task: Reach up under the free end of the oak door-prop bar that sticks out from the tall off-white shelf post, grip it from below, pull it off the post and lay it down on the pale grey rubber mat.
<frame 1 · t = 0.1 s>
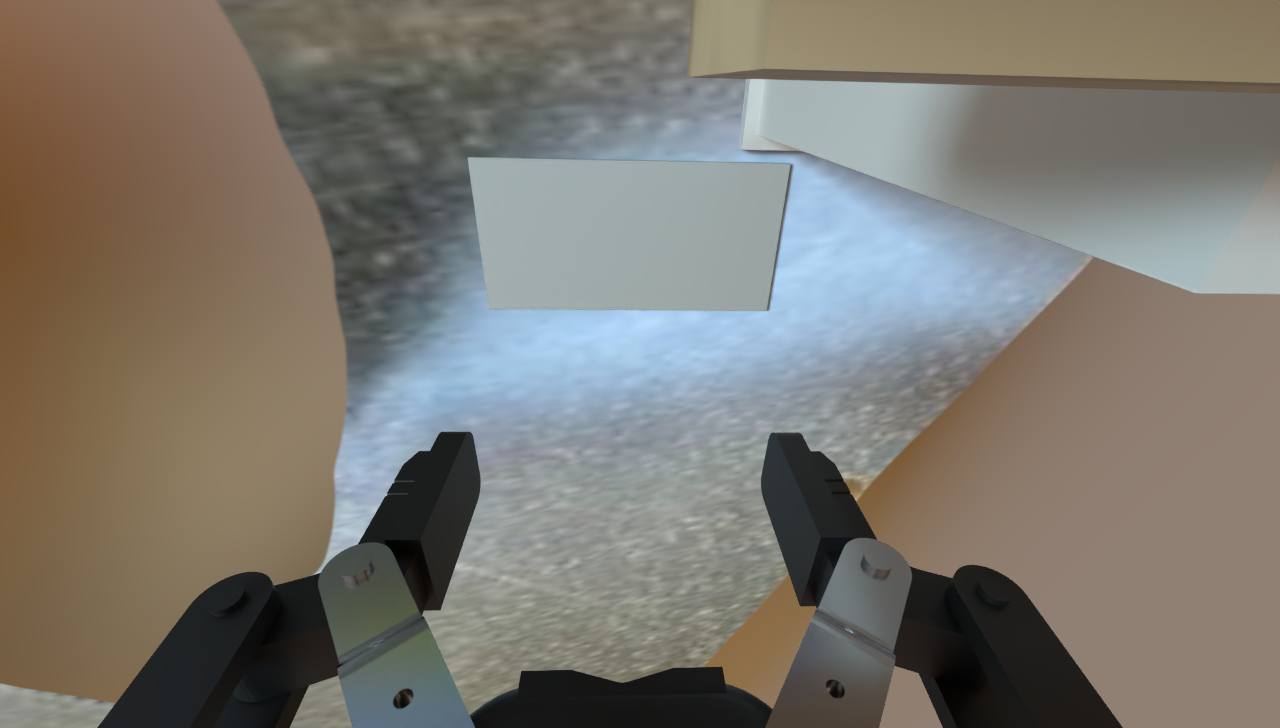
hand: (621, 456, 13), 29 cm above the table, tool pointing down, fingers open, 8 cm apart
rubber mat: (630, 239, 40), on the table
shelf post: (834, 55, 34), on the table
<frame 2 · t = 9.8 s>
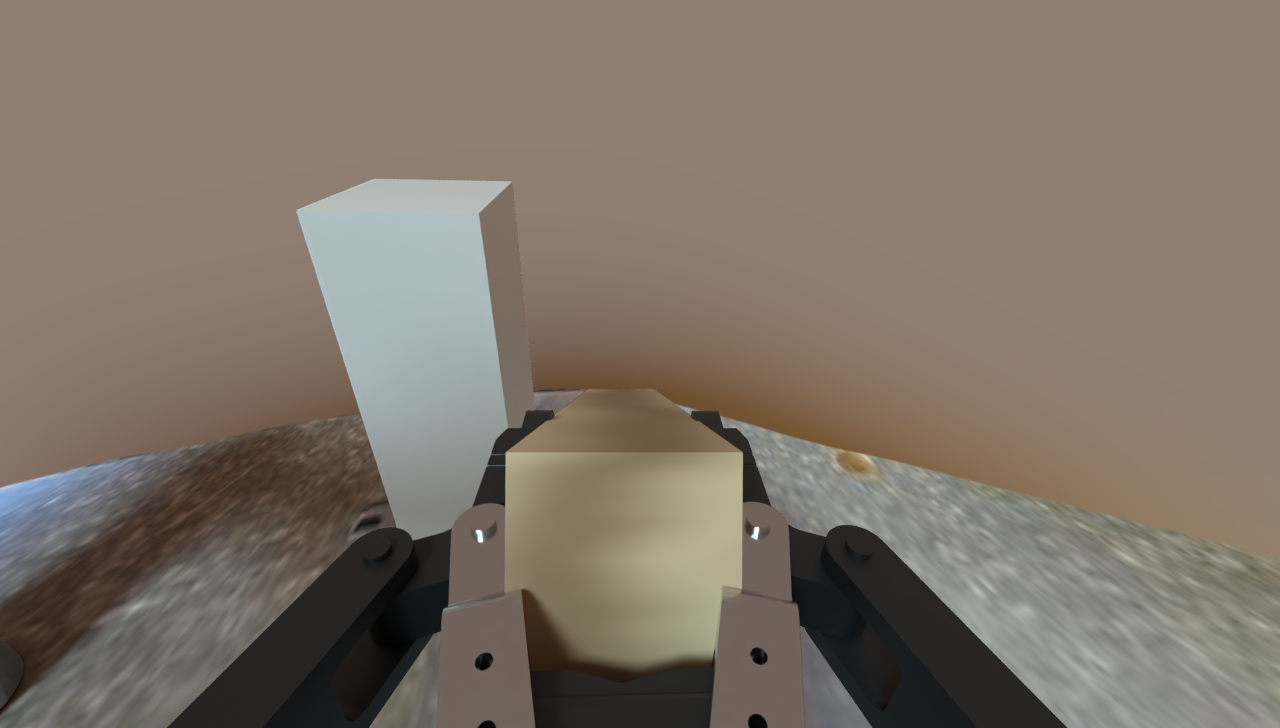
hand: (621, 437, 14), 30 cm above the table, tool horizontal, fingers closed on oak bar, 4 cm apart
oak bar: (621, 504, 19), point 24 cm above the table, tilted 30°, touching gripper
shelf post: (485, 535, 48), on the table
when the fingers open (12 cm above the table, at t = 12.9 s): oak bar drops 6 cm, resting on rubber mat.
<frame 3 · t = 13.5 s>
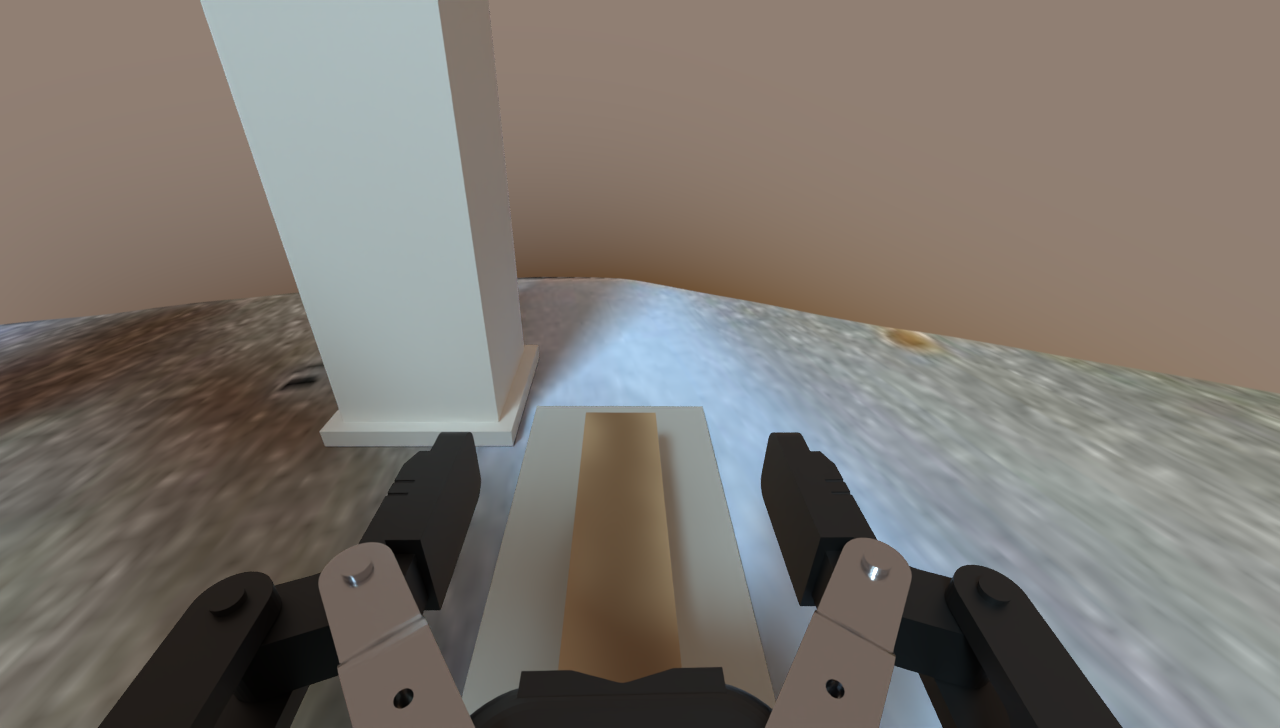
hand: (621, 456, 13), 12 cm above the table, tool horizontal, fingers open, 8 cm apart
oak bar: (619, 642, 21), resting on rubber mat
rubber mat: (619, 545, 25), on the table
shelf post: (447, 395, 37), on the table
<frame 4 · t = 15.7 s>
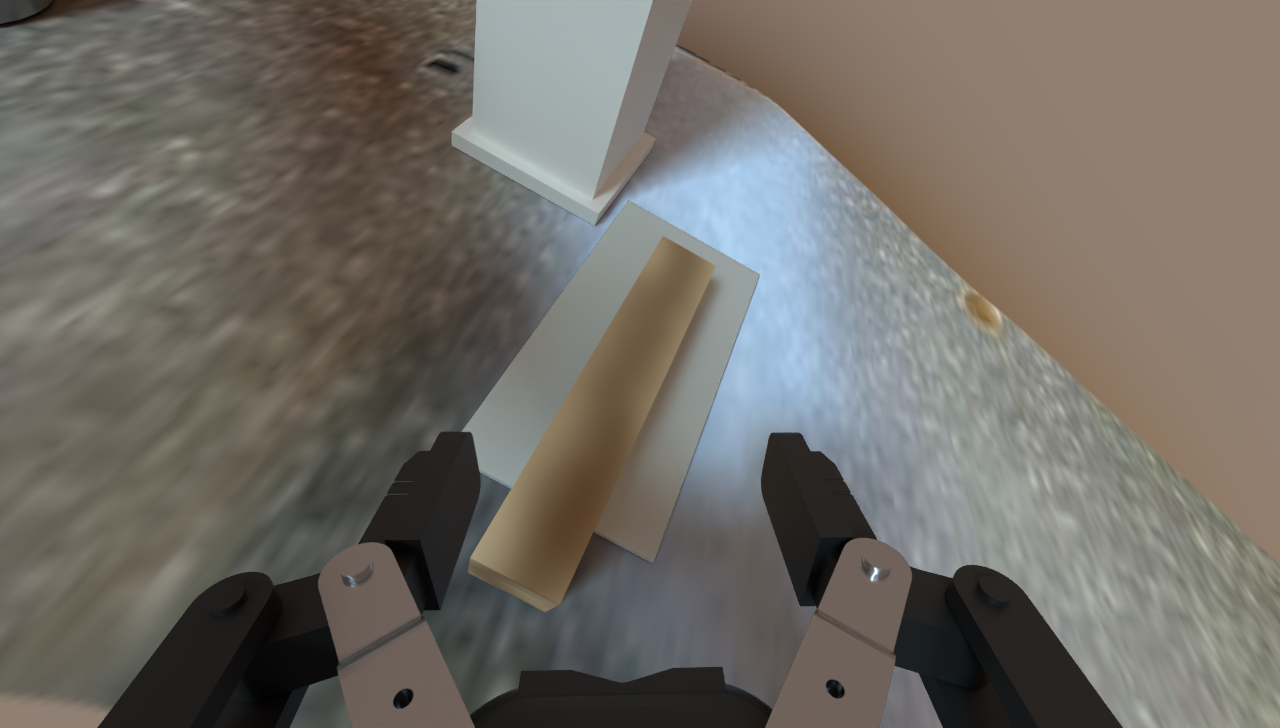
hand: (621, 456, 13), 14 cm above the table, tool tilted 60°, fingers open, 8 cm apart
oak bar: (604, 407, 29), resting on rubber mat
rubber mat: (636, 346, 32), on the table
shelf post: (561, 147, 40), on the table
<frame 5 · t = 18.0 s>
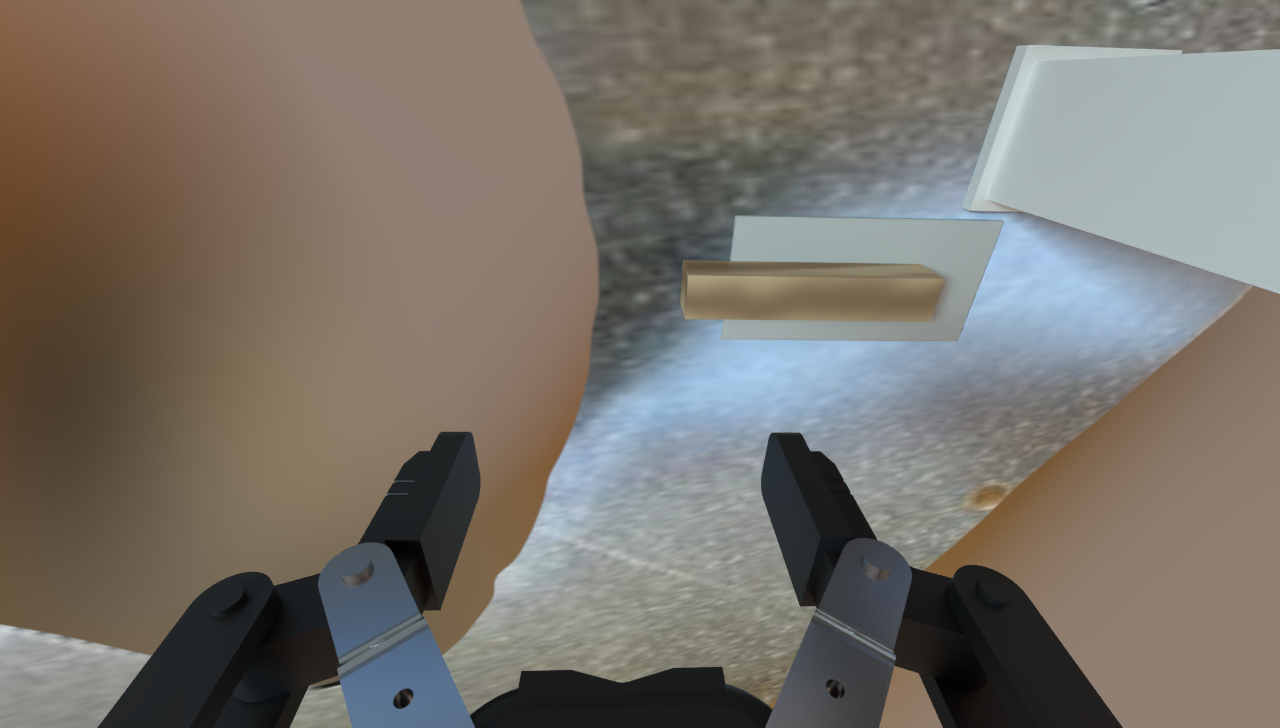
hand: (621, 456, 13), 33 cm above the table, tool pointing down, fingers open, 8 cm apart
oak bar: (798, 282, 46), resting on rubber mat
rubber mat: (853, 282, 46), on the table
shelf post: (1057, 134, 41), on the table
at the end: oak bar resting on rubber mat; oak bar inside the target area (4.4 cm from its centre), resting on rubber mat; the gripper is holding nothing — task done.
